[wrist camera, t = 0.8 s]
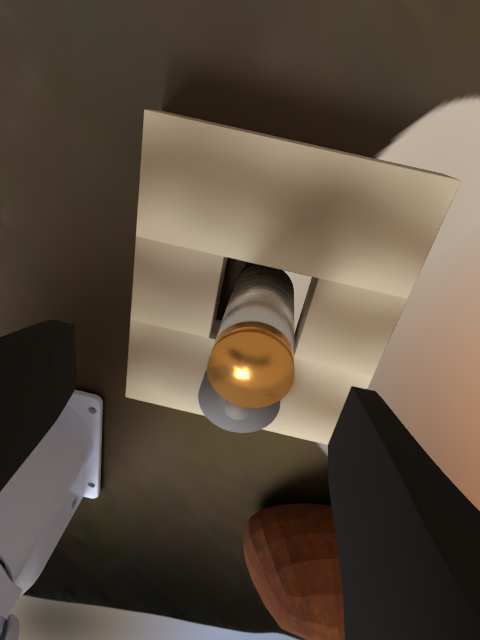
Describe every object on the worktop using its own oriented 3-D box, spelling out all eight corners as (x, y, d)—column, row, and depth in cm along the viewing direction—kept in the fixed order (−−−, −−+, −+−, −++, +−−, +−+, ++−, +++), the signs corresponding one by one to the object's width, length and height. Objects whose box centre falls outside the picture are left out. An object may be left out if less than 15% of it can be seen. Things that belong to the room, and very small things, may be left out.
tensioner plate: (336, 422, 23) (344, 474, 19) (138, 375, 23) (111, 419, 19) (442, 173, 16) (482, 188, 13) (160, 110, 16) (126, 108, 13)
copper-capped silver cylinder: (285, 324, 20) (282, 416, 14) (229, 311, 20) (201, 396, 14) (300, 271, 19) (305, 347, 12) (240, 257, 19) (214, 326, 12)
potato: (240, 471, 26) (220, 605, 19) (424, 476, 24) (479, 625, 17) (251, 543, 29) (237, 679, 22) (412, 552, 27) (453, 702, 20)
